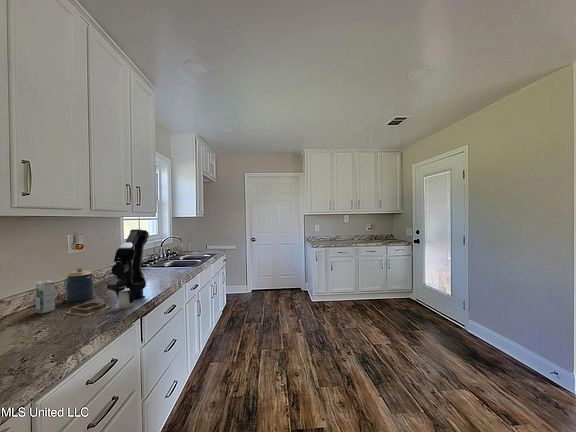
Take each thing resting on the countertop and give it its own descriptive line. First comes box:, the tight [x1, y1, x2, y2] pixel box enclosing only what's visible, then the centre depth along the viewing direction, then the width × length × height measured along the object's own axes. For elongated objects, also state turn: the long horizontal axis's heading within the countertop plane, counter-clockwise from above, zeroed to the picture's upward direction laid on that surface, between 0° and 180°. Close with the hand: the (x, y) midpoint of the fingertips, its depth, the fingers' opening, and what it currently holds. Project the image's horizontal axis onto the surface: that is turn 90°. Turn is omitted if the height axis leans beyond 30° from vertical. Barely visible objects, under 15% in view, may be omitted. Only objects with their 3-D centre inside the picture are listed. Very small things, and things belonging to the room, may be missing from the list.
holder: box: [64, 301, 112, 318], centre depth 136 cm, size 13×13×3 cm
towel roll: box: [118, 288, 134, 310], centre depth 141 cm, size 6×6×8 cm
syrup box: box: [35, 280, 56, 314], centre depth 136 cm, size 6×6×14 cm
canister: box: [64, 267, 95, 303], centre depth 156 cm, size 13×13×18 cm
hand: (126, 302), depth 141 cm, fingers closed on towel roll, 6 cm apart
